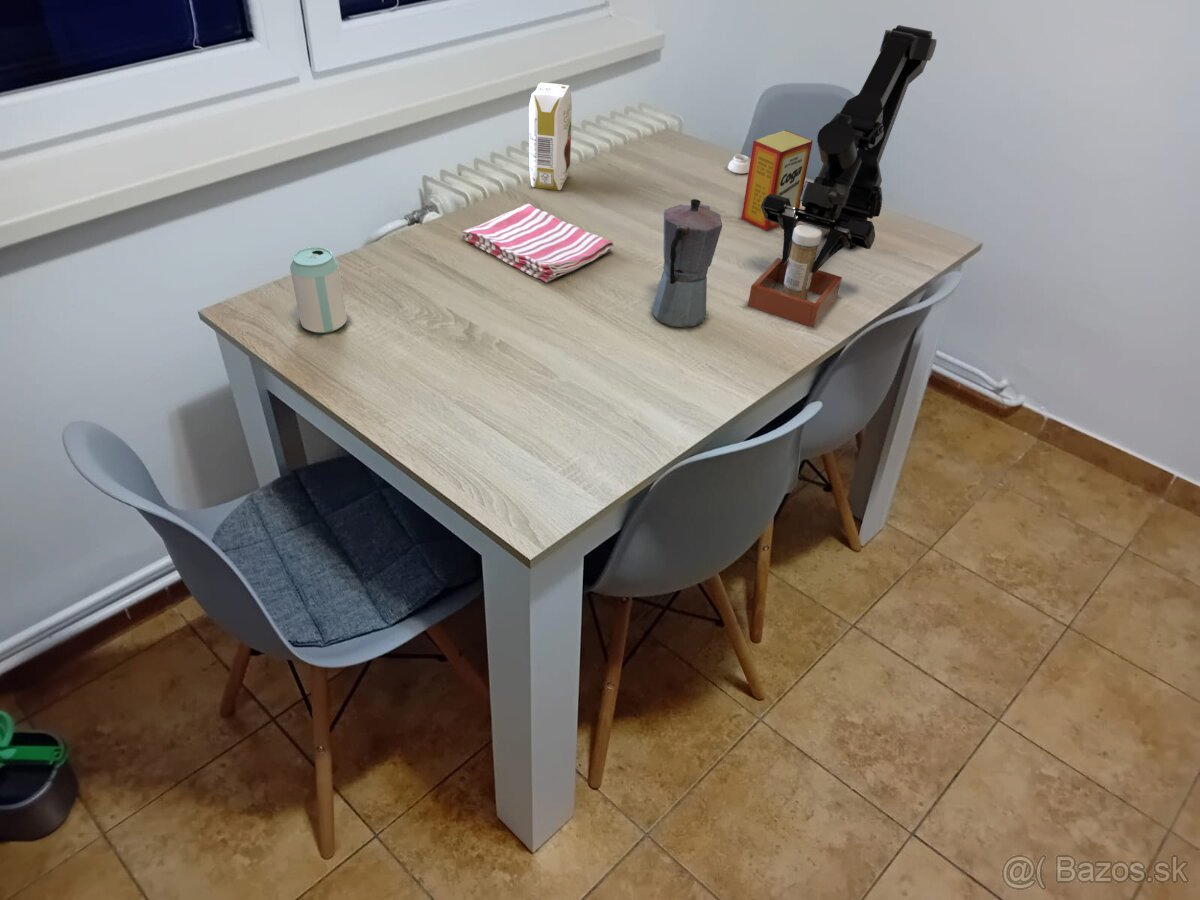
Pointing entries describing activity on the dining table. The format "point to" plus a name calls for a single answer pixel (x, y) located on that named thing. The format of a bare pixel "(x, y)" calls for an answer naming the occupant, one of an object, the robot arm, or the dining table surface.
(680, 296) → the moka pot
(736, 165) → the white jar
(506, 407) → the dining table surface
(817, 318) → the holder
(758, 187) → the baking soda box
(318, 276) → the can
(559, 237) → the dish towel
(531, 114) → the juice carton
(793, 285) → the sprinkles bottle
